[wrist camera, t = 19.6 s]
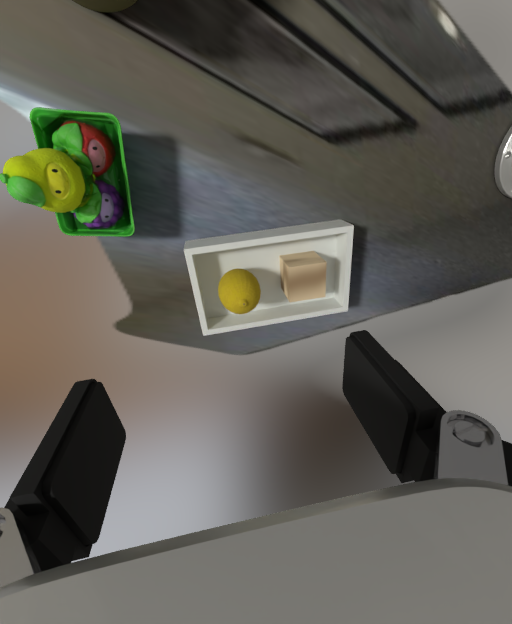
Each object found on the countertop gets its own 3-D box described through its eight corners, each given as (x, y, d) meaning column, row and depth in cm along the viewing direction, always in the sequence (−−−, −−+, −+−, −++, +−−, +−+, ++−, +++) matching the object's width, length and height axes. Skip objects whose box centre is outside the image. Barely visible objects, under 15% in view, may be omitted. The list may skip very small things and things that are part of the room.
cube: (313, 282, 43) (325, 296, 39) (280, 287, 43) (289, 302, 38) (313, 250, 41) (326, 261, 36) (279, 255, 40) (288, 267, 36)
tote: (340, 219, 40) (353, 225, 36) (336, 299, 46) (347, 310, 42) (185, 240, 38) (183, 249, 34) (203, 321, 44) (203, 335, 40)
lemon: (249, 299, 43) (259, 327, 36) (212, 293, 41) (216, 321, 34) (258, 264, 40) (271, 287, 34) (220, 257, 39) (225, 279, 32)
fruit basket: (144, 227, 36) (122, 253, 26) (68, 225, 35) (14, 252, 25) (130, 120, 31) (97, 102, 21) (39, 112, 29) (-42, 90, 20)
